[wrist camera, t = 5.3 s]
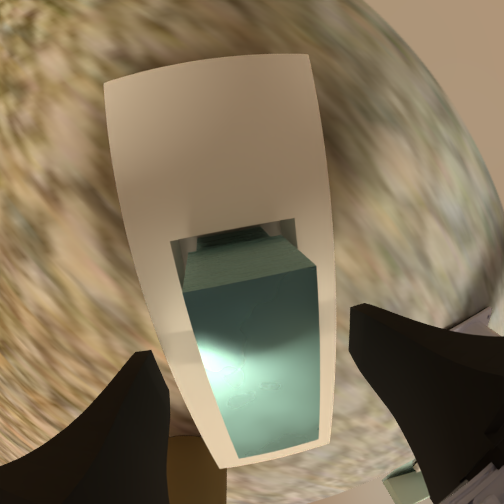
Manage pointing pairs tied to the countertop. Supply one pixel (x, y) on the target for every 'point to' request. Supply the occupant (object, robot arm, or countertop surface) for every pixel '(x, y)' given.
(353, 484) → the countertop surface
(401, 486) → the right angle wall
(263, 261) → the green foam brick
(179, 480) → the cork
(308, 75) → the rail
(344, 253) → the countertop surface
